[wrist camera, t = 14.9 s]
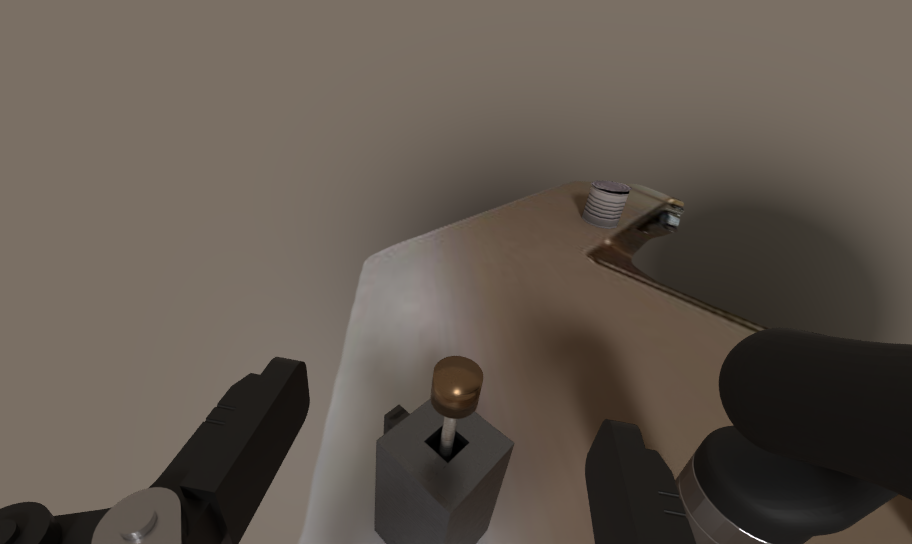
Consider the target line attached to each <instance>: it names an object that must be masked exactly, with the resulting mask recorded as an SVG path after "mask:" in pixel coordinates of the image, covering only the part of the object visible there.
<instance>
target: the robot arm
mask: <svg viewBox="0 0 912 544" xmlns="http://www.w3.org/2000/svg"><path fill="white" fill-rule="evenodd" d="M719 392H720V398H721V401H722V404H723V407H724V409H725V411H726V413H727V415H728V417H729V419H730V420H731V422H732V423H733V425H734V426H727V427H723V428H719V429H717V430H715V431H713V432H712V433H710V434H709V435H708V436H707V437H706V438H705V439H704V440H703V442H702V443H701V445H700V446H699V447H698V449H697V450H696V451H695V453H694V454H693V456H692V457H691V458H690V460H689V461H688V463H687V464H686V466H685V467H684V468H683V470H682V471H681V473H680V474H679V475H678V477H677V478H676V480H674V477H673V474H672V471H671V470H670V469H669V467H668V466H667V464H666V463H665V462H664V460H663V459H662V457H661V456H660V455H659V453H658V452H657V451H655V450H650V449H645V445H644V442H643V439H642V435H641V432H640V429H639V428H638V426H637V425H635V424H630V423H625V422H619V421H614V420H608V419H605V420H604V421H603V423H602V425H601V427H600V429H599V431H598V433H597V435H596V437H595V439H594V441H593V444H592V446H591V448H590V450H589V452H588V454H587V458H586V465H585V478H586V485H587V492H588V498H589V505H590V512H591V519H592V526H593V532H594V539H595V544H804V543H805V542H806V541H808V540H809V539H810V538H811V537H813V536H818V535H827V534H832V533H836V532H839V531H842V530H844V529H847V528H848V527H850V526H852V525H853V524H855V523H856V522H858V521H859V520H861V519H862V518H864V517H865V516H867V515H868V514H870V513H871V512H873V511H874V510H876V509H877V508H879V507H880V506H882V505H883V504H885V503H886V502H888V501H889V500H891V499H892V498H894V497H895V496H897V495H898V494H900V495H902V496H904V497H906V498H909V499H911V500H912V345H910V344H891V343H880V342H869V341H861V340H853V339H846V338H838V337H831V336H827V335H822V334H817V333H813V332H808V331H803V330H797V329H791V328H771V329H766V330H762V331H759V332H757V333H754V334H752V335H750V336H748V337H747V338H745V339H743V340H742V341H741V342H739V343H738V344H737V345H736V346H735V347H734V348H733V349H732V350H731V351H730V353H729V354H728V355H727V357H726V359H725V361H724V363H723V365H722V368H721V371H720V375H719ZM309 403H310V397H309V388H308V379H307V370H306V364H305V362H302V361H297V360H291V359H286V358H280V357H275V358H273V359H272V360H271V361H270V363H269V364H268V365H267V367H266V368H265V369H264V371H263V372H262V373H261V375H258V374H253V373H250V374H249V375H247V376H246V377H244V378H243V379H241V380H240V381H238V382H237V383H236V384H234V385H233V386H231V387H230V389H229V390H228V391H227V392H226V394H225V395H224V396H223V398H222V399H221V400H220V401H219V403H218V405H217V407H215V408H214V409H213V410H212V411H211V413H210V414H209V415H208V417H207V418H206V421H205V422H203V423H202V424H201V425H200V426H199V428H198V429H197V430H196V432H195V433H194V434H193V435H192V437H191V438H190V439H189V440H188V442H187V443H186V444H185V445H184V447H183V448H182V449H181V451H180V452H179V453H178V454H177V456H176V457H175V458H174V459H173V461H172V462H171V463H170V464H169V466H168V467H167V468H166V470H165V471H164V472H163V473H162V474H161V476H160V477H159V478H158V479H157V480H156V481H155V482H154V483H153V484H152V485H151V486H150V487H149V488H147V489H144V490H141V491H138V492H135V493H133V494H131V495H129V496H127V497H126V498H124V499H122V500H121V501H120V502H118V503H117V504H116V505H114V506H113V507H112V508H108V509H102V510H95V511H88V512H81V513H74V514H66V515H58V516H53V515H52V514H51V513H50V511H49V510H48V509H47V508H46V507H45V506H44V505H42V504H40V503H36V502H23V503H18V504H13V505H10V506H7V507H4V508H2V509H0V544H239V542H240V540H241V538H242V536H243V535H244V532H245V531H246V529H247V527H248V525H249V523H250V521H251V520H252V518H253V516H254V514H255V512H256V510H257V508H258V507H259V505H260V503H261V501H262V499H263V497H264V496H265V494H266V492H267V490H268V488H269V486H270V484H271V483H272V481H273V479H274V477H275V475H276V473H277V471H278V470H279V468H280V466H281V464H282V462H283V460H284V458H285V456H286V455H287V453H288V451H289V449H290V447H291V445H292V444H293V441H294V440H295V438H296V436H297V434H298V432H299V430H300V429H301V427H302V425H303V423H304V421H305V419H306V416H307V413H308V408H309Z"/></svg>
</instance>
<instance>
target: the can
mask: <svg viewBox="0 0 912 544" xmlns="http://www.w3.org/2000/svg"><path fill="white" fill-rule="evenodd" d="M591 184H592V186H591V189H590V193H589V196H588V199H587V202H586V206H585V209H584V212H583V216H582V218H583V219H584V220H585V221H586V222H587V223H589V224H591V225H594V226H596V227H601V228H607V229H610V228H615V227H617V224H618V221H619V219H620V216H621V213H622V210H623V208H624V205H625V202H626V199H627V197H628V194H629V190H631V189H632V188H630V187H628V186H627V185H625V184H621V183H616V182H612V181H594V182H592V183H591Z"/></svg>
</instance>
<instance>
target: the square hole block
mask: <svg viewBox="0 0 912 544" xmlns="http://www.w3.org/2000/svg"><path fill="white" fill-rule="evenodd" d="M443 421H444V416H442V415H441V414H439V413H438V412H437V411H436V410H435V409H434V408H433V406H432V404H431V399H429V400H428V401H427V402H426V403H424V404H423V405H422V406H420V407H419V408H418V409H417V410H415V411H414V412H413V413H411V414H409V413H408V412H407V411H406V410H405V409H404V408H402V407H401V406H400V405H398V406H396V407H395V408H394V409H392V410H391V411H390V412H388V413H387V414H386V415H384V435H383V436H382V437H380V438H379V439H378V440H377V445H376V488H375V531H376V532H377V533H378V535H379V536H380V537H381V538H382V539H383V540H384V542H385V543H386V544H476V543H477V542H478V541H479V539H480V538H481V537H482V536H483V534H484V533H485V532H486V531H487V529H488V526H489V523H490V520H491V516H492V513H493V510H494V507H495V504H496V501H497V497H498V494H499V491H500V488H501V485H502V481H503V478H504V475H505V472H506V469H507V466H508V462H509V459H510V456H511V453H512V450H513V447H514V442H512V441H511V440H510V439H509V438H507V437H506V436H505V435H503V434H502V433H501V432H500V431H498V430H497V429H496V428H495V427H493V426H492V425H491V424H490V423H488V422H487V421H486V420H484V419H483V418H482V417H481V416H479V415H478V414H477V413H476V412H473V413H472V414H471V415H470V416H468V417H465V418H462V419H458V421H457V426H456V431H455V437H454V442H453V448H452V453H451V458H450V462H449V463H447V462H446V461H445V460H444V459H442V458H441V457H440V456H439V455H438V453H439V447H440V440H441V434H442V428H443Z"/></svg>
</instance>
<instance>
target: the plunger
mask: <svg viewBox="0 0 912 544" xmlns="http://www.w3.org/2000/svg"><path fill="white" fill-rule="evenodd" d="M482 382H483V372H482V370H481V368H480V367H479V366H478V365H477V364H476V363H475V362H474V361H472V360H470V359H468V358H465V357H461V356H450V357H446V358H444V359H442V360H440V361H439V362H438V363H437V364H436V366H435V368H434V373H433V381H432V389H431V404H432V406H433V408H434V409H435V410H436V411H437V412H438V413H439V414H441V415H442V416H444V421H443V428H442V434H441V440H440V447H439V453H438V455H439V456H440V457H441V458H442V459H444V460H445V461H446V462H447V463H449V462H450V458H451V453H452V448H453V442H454V437H455V431H456V426H457V421H458V419H462V418H465V417H468V416H470V415H471V414H472V413H473V412H474V411H475V410H476V408H477V405H478V400H479V395H480V391H481V386H482Z"/></svg>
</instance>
